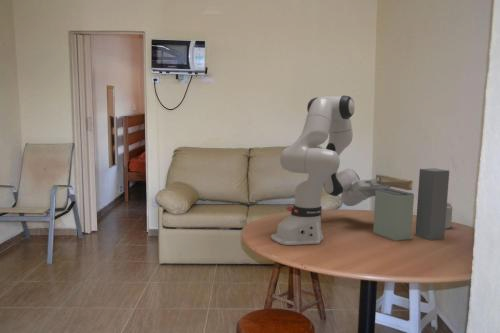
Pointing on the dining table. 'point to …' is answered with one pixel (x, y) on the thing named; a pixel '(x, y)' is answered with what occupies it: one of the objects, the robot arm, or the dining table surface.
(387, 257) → the dining table surface
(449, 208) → the can
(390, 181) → the bar
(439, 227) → the pedestal
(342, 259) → the dining table surface
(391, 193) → the grey block
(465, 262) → the dining table surface
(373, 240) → the dining table surface
